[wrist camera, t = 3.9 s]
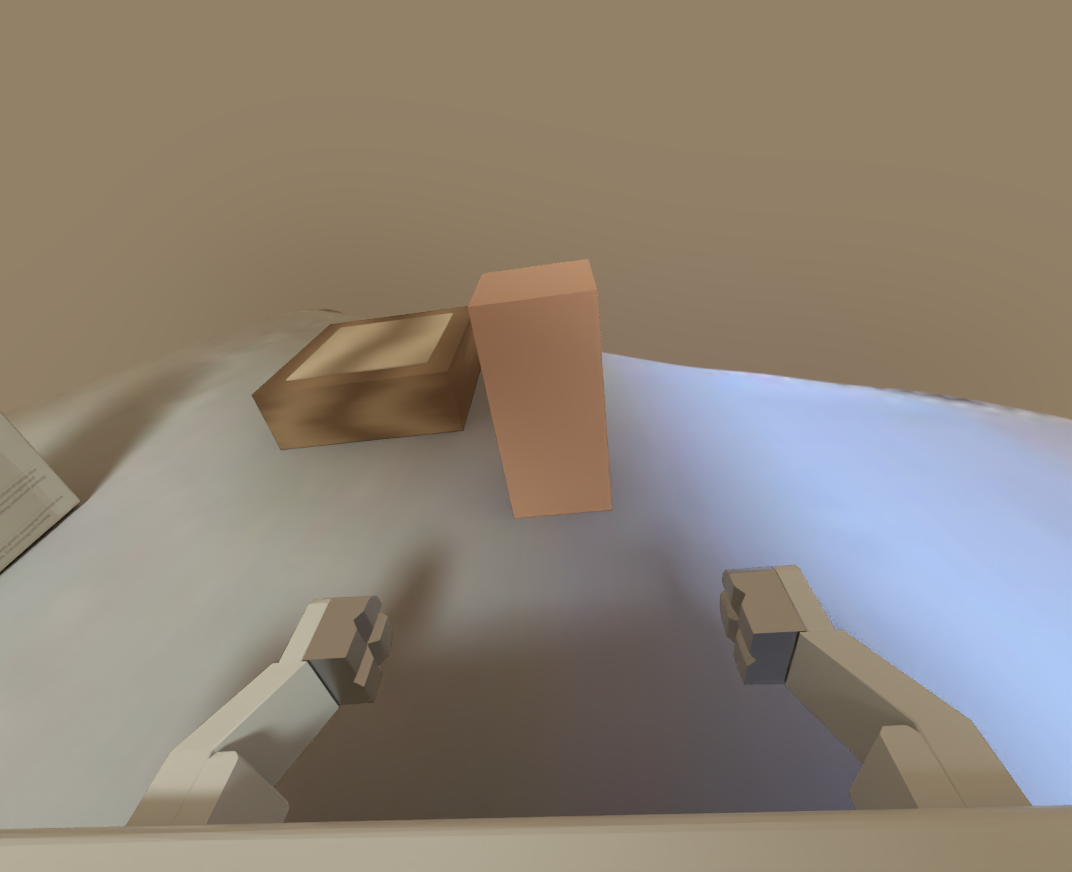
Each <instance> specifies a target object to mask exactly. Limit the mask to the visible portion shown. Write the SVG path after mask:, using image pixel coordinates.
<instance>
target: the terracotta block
mask: <svg viewBox="0 0 1072 872" xmlns="http://www.w3.org/2000/svg"><path fill="white" fill-rule="evenodd" d="M468 312H469V316H470V321H471V325H472V330H473V334H474V339H475V343H476V348H477V352H478V357H479V361H480V366H481V370H482V375H483V379H484V384H485V388H486V393H487V397H488V402H489V406H490V411H491V415H492V420H493V424H494V429H495V433H496V438H497V442H498V447H499V451H500V455H501V460H502V464H503V469H504V473H505V478H506V482H507V487H508V491H509V496H510V500H511V505H512V509H513V514H514V518H525V517H536V516H548V515H559V514H571V513H582V512H594V511H605V510H612V499H611V484H610V470H609V455H608V441H607V426H606V412H605V397H604V383H603V368H602V354H601V340H600V325H599V312H598V296H597V288H596V284H595V281H594V278H593V274H592V271H591V268H590V264H589V260H588V259H584V260H578V261H570V262H563V263H555V264H549V265H541V266H534V267H527V268H519V269H512V270H505V271H498V272H492V273H483V274H482V277H481V279H480V282H479V283H478V285H477V288H476V290H475V292H474V294H473V296H472V299H471V300H470V303H469V305H468Z"/></svg>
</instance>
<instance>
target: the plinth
mask: <svg viewBox="0 0 1072 872" xmlns="http://www.w3.org/2000/svg"><path fill="white" fill-rule="evenodd" d="M480 369H481V366H480V361H479V357H478V352H477V348H476V343H475V339H474V334H473V330H472V325H471V321H470V316H469V312H468V306H466V307H458V308H451V309H443V310H436V311H428V312H421V313H414V314H406V315H398V316H391V317H383V318H375V319H368V320H360V321H353V322H345V323H338V324H330V325H329V326H328V327H327V328H326V329H325V330H324V331H322V332H321V333H320V334H319V335H318V336H317V337H316V338H315V339H314V340H312V341H311V342H310V343H309V344H308V345H307V346H306V347H305V348H304V349H302V350H301V351H300V352H299V353H298V354H297V355H296V356H295V357H293V358H292V359H291V360H290V361H289V362H288V363H287V364H286V365H285V366H283V367H282V368H281V369H280V370H279V371H278V372H277V373H276V374H274V375H273V376H272V377H271V378H270V379H269V380H268V381H267V382H266V383H264V384H263V385H262V386H261V387H260V388H259V389H258V390H257V391H256V392H254V393H253V394H252V397H253V399H254V400H255V402H256V404H257V406H258V408H259V410H260V412H261V414H262V415H263V417H264V419H265V421H266V423H267V425H268V427H269V429H270V431H271V432H272V434H273V436H274V438H275V440H276V442H277V444H278V446H279V447H280V449H281V450H282V449H292V448H301V447H310V446H320V445H329V444H338V443H348V442H357V441H367V440H376V439H385V438H395V437H404V436H414V435H423V434H432V433H442V432H451V431H460V430H463V428H464V425H465V421H466V418H467V414H468V411H469V408H470V404H471V401H472V397H473V394H474V390H475V387H476V383H477V380H478V376H479V373H480Z"/></svg>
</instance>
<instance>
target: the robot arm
mask: <svg viewBox="0 0 1072 872" xmlns="http://www.w3.org/2000/svg"><path fill="white" fill-rule="evenodd" d="M722 583H723V585H724V588H725V590H724V591H723V592H722V593H721V594H720V611H721V618H722V622H723V626H724V629H725V632H726V635H727V637H728V638H729V639H731V640H732V641H733V642H734V643H735V648H734V658H735V661H736V664H737V667H738V669H739V672H740V675H741V678H742V681H743V683H744V685H752V684H786V685H785V686H786V687H787V688H788V689H789V690H790V691H791V692H792V693H793V694H794V695H795V696H796V697H797V698H798V699H799V700H800V701H801V702H802V703H803V704H804V705H805V706H806V707H807V708H808V709H809V710H810V711H811V712H812V713H813V714H814V715H815V716H816V717H817V718H818V719H819V720H820V721H821V722H822V723H823V724H824V725H825V726H826V727H827V728H828V729H829V730H830V731H831V733H832V734H833V735H834V736H835V737H836V738H837V739H838V740H839V741H840V742H841V743H842V744H843V745H844V746H845V747H846V748H847V749H848V750H849V751H850V752H851V753H852V754H853V755H854V756H855V757H856V758H857V759H858V760H859V761H860V762H861V763H862V764H863V765H862V767H861V769H860V771H859V773H858V775H857V777H856V779H855V780H854V782H853V784H852V786H851V788H850V790H849V794H850V797H851V799H852V801H853V804H854V806H855V808H856V810H828V811H783V812H738V813H693V814H648V815H603V816H558V817H513V818H468V819H424V820H380V821H336V822H292V823H284V821H285V818H286V815H287V813H288V810H289V804H288V801H287V800H286V799H285V798H284V797H283V796H282V795H281V794H280V793H279V792H278V791H277V790H276V789H275V788H274V787H275V786H276V784H277V783H278V782H279V781H280V779H281V778H282V777H283V776H284V774H285V773H286V772H287V771H288V770H289V768H290V767H291V766H292V765H293V763H294V762H295V761H296V760H297V759H298V757H299V756H300V755H301V754H302V752H303V751H304V750H305V749H306V747H307V746H308V745H309V744H310V743H311V741H312V740H313V739H314V738H315V736H316V735H317V734H318V733H319V732H320V730H321V729H322V728H323V727H324V725H325V724H326V723H327V722H328V720H329V719H330V718H331V717H332V716H333V714H334V713H335V712H336V711H337V709H338V708H339V706H338V705H348V704H361V703H374V700H375V697H376V694H377V690H378V687H379V684H380V681H381V678H382V672H381V669H380V667H379V665H380V664H381V663H382V662H383V661H384V660H385V659H386V658H387V657H388V655H389V651H390V648H391V644H392V627H391V622H390V620H389V618H388V616H386V615H385V614H383V613H381V612H380V609H381V606H382V604H381V602H380V601H379V599H378V597H377V596H364V597H341V598H323V599H314V600H313V601H312V602H311V603H310V604H309V605H308V606H307V608H306V610H305V612H304V614H303V616H302V618H301V620H300V622H299V624H298V626H297V628H296V630H295V632H294V634H293V636H292V638H291V640H290V642H289V643H288V645H287V647H286V649H285V651H284V653H283V655H282V657H281V659H280V661H279V663H272V664H271V665H270V666H269V667H268V668H267V669H265V670H264V671H263V672H262V673H261V674H260V675H258V676H257V677H256V678H255V679H254V680H253V681H252V682H250V683H249V684H248V685H247V686H246V687H245V688H244V689H242V690H241V691H240V692H239V693H238V694H237V695H235V696H234V697H233V698H232V699H231V700H230V701H229V702H227V703H226V704H225V705H224V706H223V707H222V708H220V709H219V710H218V711H217V712H216V713H215V714H214V715H212V716H211V717H210V718H209V719H208V720H207V721H206V722H204V723H203V724H202V725H201V726H200V727H199V728H197V729H196V730H195V731H194V732H193V733H192V734H191V735H189V736H188V737H187V738H186V739H185V740H184V741H182V742H181V743H180V744H179V745H178V746H177V747H176V748H174V749H173V750H172V751H171V752H170V754H169V756H168V757H167V759H166V761H165V762H164V764H163V765H162V767H161V769H160V770H159V772H158V774H157V775H156V777H155V779H154V780H153V782H152V783H151V785H150V787H149V788H148V790H147V792H146V793H145V795H144V797H143V798H142V800H141V801H140V803H139V805H138V806H137V808H136V810H135V811H134V813H133V815H132V816H131V818H130V819H129V821H128V823H127V824H126V826H117V827H74V828H32V829H0V872H1072V805H1053V806H1032V805H1031V804H1030V802H1029V801H1028V799H1027V798H1026V797H1025V795H1024V794H1023V792H1022V791H1021V790H1020V788H1019V787H1018V785H1017V784H1016V783H1015V781H1014V780H1013V778H1012V777H1011V775H1010V774H1009V773H1008V771H1007V770H1006V768H1005V767H1004V766H1003V764H1002V763H1001V761H1000V760H999V759H998V757H997V756H996V754H995V753H994V752H993V750H992V749H991V747H990V746H989V744H988V743H987V742H986V740H985V739H984V737H983V736H982V735H981V733H980V732H979V730H978V729H977V728H976V726H975V725H974V723H973V722H972V721H971V720H970V719H968V718H967V717H966V716H964V715H963V714H961V713H960V712H958V711H957V710H956V709H954V708H953V707H951V706H950V705H948V704H947V703H946V702H944V701H943V700H941V699H940V698H939V697H937V696H936V695H934V694H933V693H931V692H930V691H929V690H927V689H926V688H924V687H923V686H921V685H920V684H919V683H917V682H916V681H914V680H913V679H912V678H910V677H909V676H907V675H906V674H904V673H903V672H902V671H900V670H899V669H897V668H896V667H895V666H893V665H892V664H890V663H889V662H887V661H886V660H885V659H883V658H882V657H880V656H879V655H877V654H876V653H875V652H873V651H872V650H870V649H869V648H868V647H866V646H865V645H863V644H862V643H860V642H859V641H858V640H856V639H855V638H853V637H852V636H851V635H849V634H848V633H846V632H845V631H843V630H835V629H834V627H833V625H832V624H831V622H830V620H829V618H828V617H827V615H826V613H825V612H824V610H823V608H822V606H821V605H820V603H819V601H818V599H817V598H816V596H815V594H814V592H813V591H812V589H811V587H810V585H809V584H808V582H807V580H806V578H805V577H804V575H803V573H802V572H801V570H800V568H798V567H797V566H796V565H788V566H774V567H769V566H767V567H756V568H744V569H732V570H725V571H724V573H723V577H722Z"/></svg>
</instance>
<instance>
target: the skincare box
mask: <svg viewBox="0 0 1072 872" xmlns="http://www.w3.org/2000/svg"><path fill="white" fill-rule="evenodd" d="M79 502H80V499H79V498H78V497H77V496H76V495H75V494H74V492H73V491H72V490H71V489H70V488H69V487H68V486H67V485H66V483H65V482H64V481H63V480H62V479H61V478H60V477H59V476H58V475H57V474H56V472H55V471H54V470H53V469H52V468H51V467H50V466H49V465H48V464H47V463H46V461H45V460H44V459H43V458H42V457H41V456H40V455H39V454H38V452H37V451H36V450H35V449H34V448H33V447H32V446H31V445H30V443H29V442H28V441H27V440H26V439H25V438H24V437H23V436H22V435H21V434H20V432H19V431H18V430H17V429H16V428H15V427H14V426H13V425H12V424H11V422H10V421H9V420H8V419H7V418H6V417H5V416H4V414H3V413H2V412H1V411H0V572H1V571H2V570H3V569H4V568H5V567H6V566H7V565H8V564H9V563H11V562H12V561H13V560H14V559H15V558H16V557H17V556H19V555H20V554H21V553H22V552H23V551H24V550H25V549H26V548H28V547H29V546H30V545H31V544H32V543H33V542H35V541H36V540H37V539H38V538H39V537H40V536H41V535H43V534H44V533H45V532H46V531H47V530H48V529H49V528H50V527H52V526H53V525H54V524H55V523H57V522H58V521H59V520H60V519H61V518H62V517H63V516H65V515H66V514H67V513H68V512H69V511H70V510H71V509H72V508H73V507H75V506H76V505H77V504H78V503H79Z"/></svg>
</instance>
